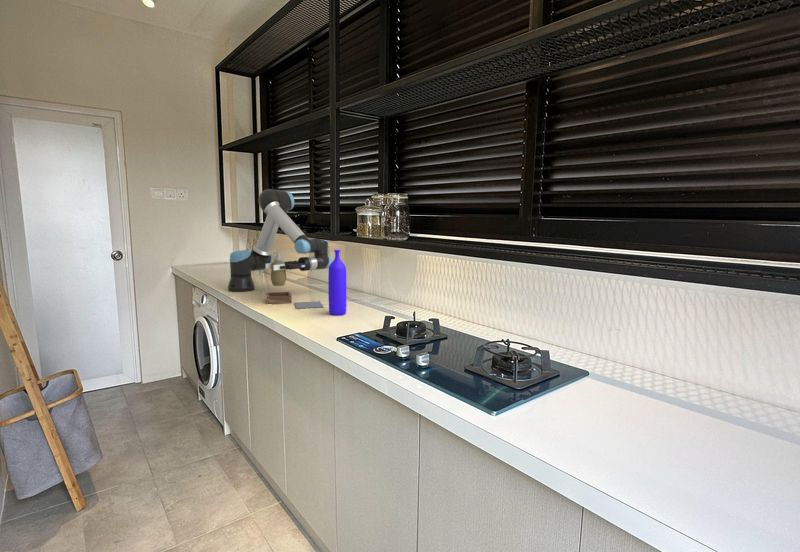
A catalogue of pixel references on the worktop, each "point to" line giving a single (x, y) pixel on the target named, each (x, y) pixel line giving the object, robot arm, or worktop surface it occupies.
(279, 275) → the squeeze bottle
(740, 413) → the worktop surface
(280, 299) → the holder
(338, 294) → the bottle
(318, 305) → the mat
